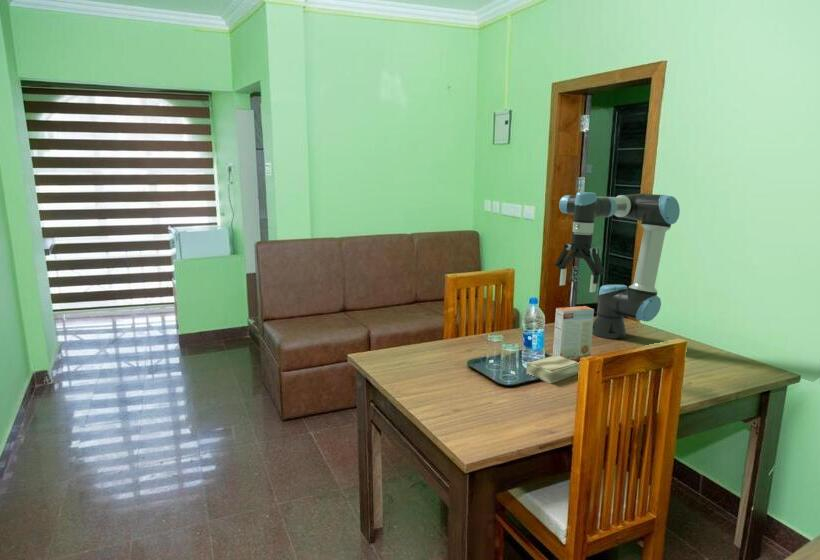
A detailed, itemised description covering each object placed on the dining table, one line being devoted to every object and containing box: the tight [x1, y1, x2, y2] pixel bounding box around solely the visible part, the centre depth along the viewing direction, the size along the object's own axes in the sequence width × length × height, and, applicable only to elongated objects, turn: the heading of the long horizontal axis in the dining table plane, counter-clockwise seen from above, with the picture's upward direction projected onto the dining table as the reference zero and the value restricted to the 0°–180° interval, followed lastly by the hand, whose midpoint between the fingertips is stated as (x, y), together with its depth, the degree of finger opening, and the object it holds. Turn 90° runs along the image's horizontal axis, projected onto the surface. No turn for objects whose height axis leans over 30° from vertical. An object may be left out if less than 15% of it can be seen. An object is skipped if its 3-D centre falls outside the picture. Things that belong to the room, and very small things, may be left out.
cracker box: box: [552, 305, 595, 362], centre depth 214 cm, size 14×6×21 cm, turn 108°
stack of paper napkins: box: [525, 354, 580, 384], centre depth 199 cm, size 11×17×4 cm, turn 128°
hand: (577, 288), depth 210 cm, fingers open, 13 cm apart
